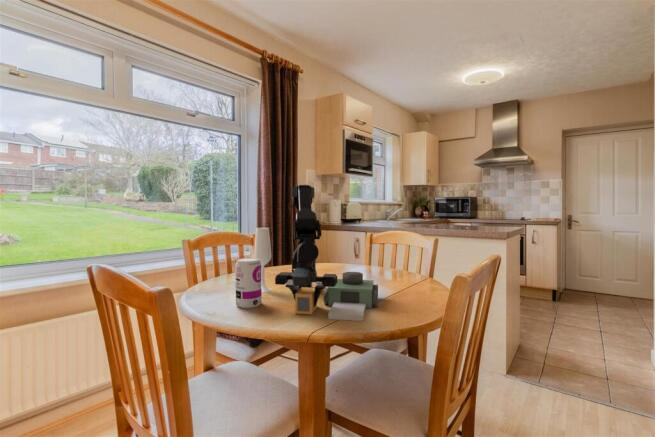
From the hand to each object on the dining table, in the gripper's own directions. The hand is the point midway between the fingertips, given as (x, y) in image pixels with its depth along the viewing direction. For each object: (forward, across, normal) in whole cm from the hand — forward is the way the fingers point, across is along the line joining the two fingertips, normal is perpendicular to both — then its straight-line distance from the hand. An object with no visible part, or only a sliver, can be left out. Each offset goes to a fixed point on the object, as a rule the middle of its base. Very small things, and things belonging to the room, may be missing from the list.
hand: (306, 306), depth 104 cm
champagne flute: (+1, -22, +20) cm, 30 cm away
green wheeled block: (+1, +13, +6) cm, 14 cm away
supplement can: (+1, -20, +2) cm, 20 cm away
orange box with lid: (+1, 0, 0) cm, 1 cm away
